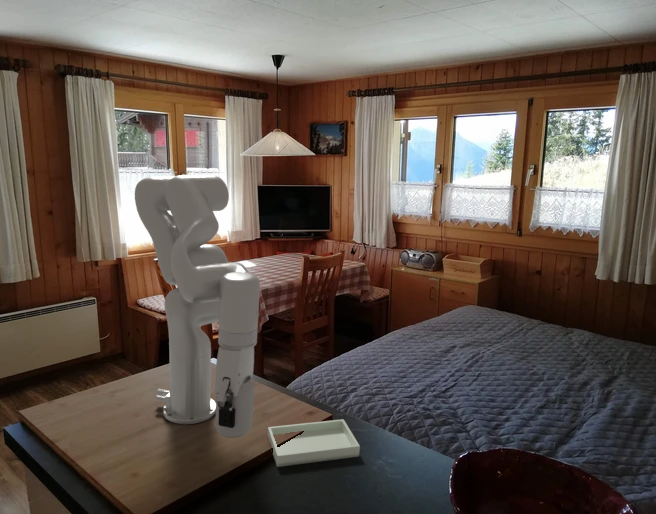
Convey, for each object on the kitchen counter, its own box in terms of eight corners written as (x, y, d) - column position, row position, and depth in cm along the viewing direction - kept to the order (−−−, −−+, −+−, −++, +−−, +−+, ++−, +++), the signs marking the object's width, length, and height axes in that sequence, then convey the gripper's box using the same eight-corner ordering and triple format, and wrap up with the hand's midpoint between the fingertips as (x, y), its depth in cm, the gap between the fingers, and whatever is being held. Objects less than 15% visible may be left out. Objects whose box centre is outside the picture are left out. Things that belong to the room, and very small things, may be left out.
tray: (277, 466, 105) (277, 456, 104) (267, 437, 115) (267, 427, 115) (359, 456, 110) (359, 446, 109) (342, 428, 120) (343, 419, 120)
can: (244, 443, 101) (247, 388, 98) (209, 436, 102) (210, 381, 99) (257, 423, 108) (260, 371, 105) (223, 416, 109) (225, 365, 106)
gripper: (236, 317, 109) (233, 392, 113) (200, 349, 92) (198, 435, 96) (269, 322, 107) (265, 397, 112) (239, 356, 91) (235, 443, 95)
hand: (234, 414), depth 104 cm, fingers closed on can, 7 cm apart
